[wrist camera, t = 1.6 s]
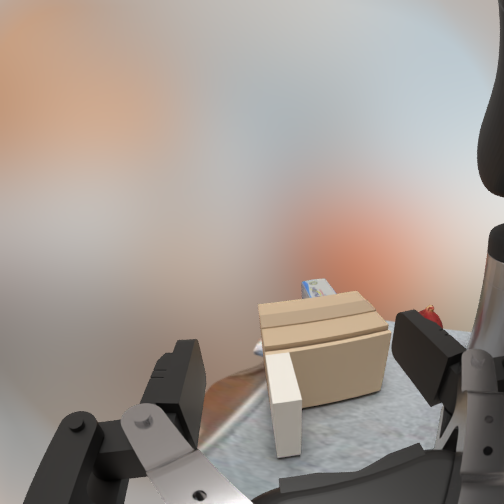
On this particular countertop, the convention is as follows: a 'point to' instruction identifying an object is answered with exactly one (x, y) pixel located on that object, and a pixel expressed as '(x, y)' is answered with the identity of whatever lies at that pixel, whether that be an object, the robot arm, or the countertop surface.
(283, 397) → the carton flap
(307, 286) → the medicine box
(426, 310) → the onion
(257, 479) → the countertop surface
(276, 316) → the kraft carton
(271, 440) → the countertop surface
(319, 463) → the countertop surface
